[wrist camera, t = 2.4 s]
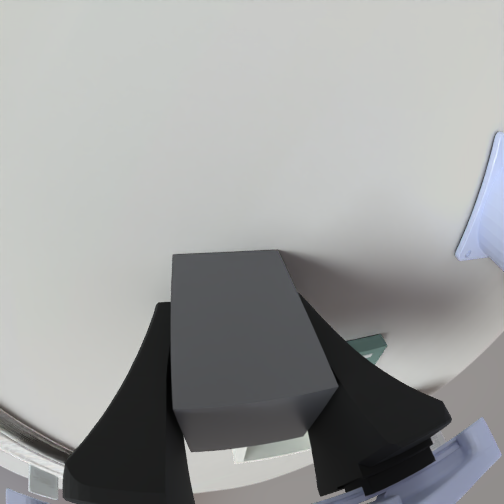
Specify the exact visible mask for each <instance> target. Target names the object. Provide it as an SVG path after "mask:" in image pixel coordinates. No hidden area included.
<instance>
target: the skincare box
mask: <svg viewBox="0 0 504 504" xmlns="http://www.w3.org/2000/svg"><path fill="white" fill-rule="evenodd" d="M28 483H29V484H28V490H29V492H32V493H35V494H37V495H40V496H44V497H47V498H51V499H54V500H58V477H57V476H55V475H52V474H50V473H48V472H46V471H43V470H41V469H39V468H37V467H34V466H32V465H30V464H29V482H28Z"/></svg>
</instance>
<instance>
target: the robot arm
mask: <svg viewBox="0 0 504 504" xmlns="http://www.w3.org/2000/svg"><path fill="white" fill-rule="evenodd" d="M455 257H456V258H457V259H458V260H459V261H463V260H471V259H478V258H486V257H489V258H490V259H491V260H493V261H494V262H495V263H496V264H497V265H498V266H499V267H500V268H501V270H502V271H503V272H504V133H503V132H500V131H499V132H498V133H497V134H496V136H495V139H494V143H493V147H492V151H491V155H490V159H489V163H488V166H487V170H486V173H485V176H484V180H483V183H482V186H481V189H480V192H479V195H478V198H477V201H476V204H475V206H474V209H473V212H472V214H471V217H470V220H469V222H468V225H467V227H466V229H465V232H464V234H463V237H462V239H461V241H460V244H459V246H458V248H457V250H456V253H455ZM298 295H299V297H300V299H301V301H302V304H303V306H304V308H305V310H306V312H307V315H308V317H309V319H310V321H311V324H312V326H313V328H314V331H315V333H316V335H317V337H318V340H319V342H320V344H321V347H322V349H323V351H324V353H325V356H326V358H327V360H328V363H329V365H330V367H331V370H332V372H333V374H334V377H335V379H336V381H337V384H338V388H337V390H336V391H335V393H334V394H333V396H332V397H331V399H330V400H329V402H328V403H327V404H326V406H325V407H324V409H323V410H322V412H321V413H320V415H319V416H318V417H317V419H316V420H315V421H314V423H313V424H312V426H311V427H310V428H309V430H308V436H309V440H310V445H311V450H312V455H313V461H314V467H315V473H316V479H317V488H318V491H319V494H320V496H324V495H327V494H330V493H333V492H336V491H339V490H342V489H345V492H346V493H344V494H341V495H338V496H335V497H332V498H329V499H326V500H323V501H319V502H316V503H313V504H358V503H361V502H363V501H366V500H368V499H370V498H373V497H375V496H377V495H378V496H377V499H376V500H375V501H373V502H370V503H367V504H455V503H456V502H457V501H458V500H459V499H460V498H461V497H462V496H463V495H464V494H465V493H466V492H467V491H468V490H469V489H470V488H471V487H472V486H473V485H474V484H475V483H476V482H477V480H478V479H479V478H480V477H481V476H482V475H483V474H484V473H485V472H486V471H487V470H488V469H489V468H490V467H491V466H492V465H493V464H494V463H495V462H496V461H497V460H498V459H499V458H500V457H501V452H500V450H499V448H498V446H497V444H496V442H495V440H494V438H493V436H492V434H491V432H490V430H489V428H488V426H487V424H486V422H485V420H484V418H483V417H481V418H480V419H478V420H477V421H476V422H474V423H473V424H472V425H470V426H469V427H468V428H466V429H465V430H463V431H462V432H461V433H459V434H458V435H457V436H455V437H454V438H452V439H451V440H449V441H448V442H446V443H444V444H443V445H441V446H440V447H438V448H437V449H436V450H434V451H431V449H430V446H431V445H433V442H432V440H431V437H432V436H433V435H435V434H436V433H438V432H439V431H440V430H442V429H443V428H444V427H446V426H447V425H448V424H449V423H450V422H451V420H452V418H451V416H450V414H449V412H448V410H447V409H446V407H445V405H444V403H443V402H442V401H440V400H438V399H436V398H433V397H431V396H428V395H426V394H424V393H421V392H419V391H417V390H415V389H413V388H411V387H409V386H407V385H406V384H404V383H402V382H400V381H399V380H397V379H395V378H394V377H392V376H390V375H389V374H387V373H386V372H384V371H383V370H381V369H380V368H378V367H377V366H375V365H374V364H373V363H371V362H370V361H369V360H367V359H366V358H365V357H363V356H362V355H361V354H360V353H359V352H357V351H356V350H355V349H354V348H353V347H352V346H350V345H349V344H348V343H347V342H346V341H345V340H344V339H343V338H342V337H341V336H340V335H339V334H338V333H337V332H336V331H335V330H334V329H333V328H332V327H331V326H330V325H329V324H328V323H327V322H326V321H325V320H324V319H323V318H322V317H321V316H320V315H319V314H318V313H317V312H316V311H315V310H314V309H313V308H312V306H311V305H310V304H309V303H308V302H307V301H306V300H305V299H304V298H303V297H302V296H301V295H300V294H299V293H298ZM63 498H64V499H65V500H66V501H69V502H72V503H76V504H195V501H194V498H193V492H192V487H191V482H190V476H189V471H188V465H187V458H186V451H185V444H184V436H183V433H182V431H181V428H180V426H179V423H178V421H177V418H176V416H175V413H174V411H173V401H172V379H171V302H159V303H158V304H157V305H156V307H155V311H154V314H153V317H152V320H151V323H150V326H149V328H148V331H147V333H146V336H145V338H144V340H143V343H142V345H141V347H140V350H139V352H138V354H137V356H136V358H135V360H134V362H133V364H132V366H131V368H130V371H129V372H128V374H127V376H126V378H125V380H124V382H123V384H122V385H121V387H120V389H119V390H118V392H117V394H116V396H115V397H114V399H113V400H112V402H111V403H110V405H109V407H108V408H107V410H106V411H105V413H104V414H103V416H102V417H101V418H100V420H99V421H98V422H97V424H96V425H95V426H94V428H93V429H92V430H91V432H90V433H89V434H88V436H87V437H86V438H85V439H84V441H83V442H82V443H81V444H80V445H79V446H78V447H77V449H76V450H75V451H74V452H73V453H72V454H71V455H70V457H69V458H68V459H67V460H66V462H65V467H64V472H63ZM6 504H50V503H47V502H44V501H41V500H38V499H35V498H32V497H29V496H27V495H24V494H21V493H19V492H16V491H14V490H11V489H9V488H7V489H6Z"/></svg>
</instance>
